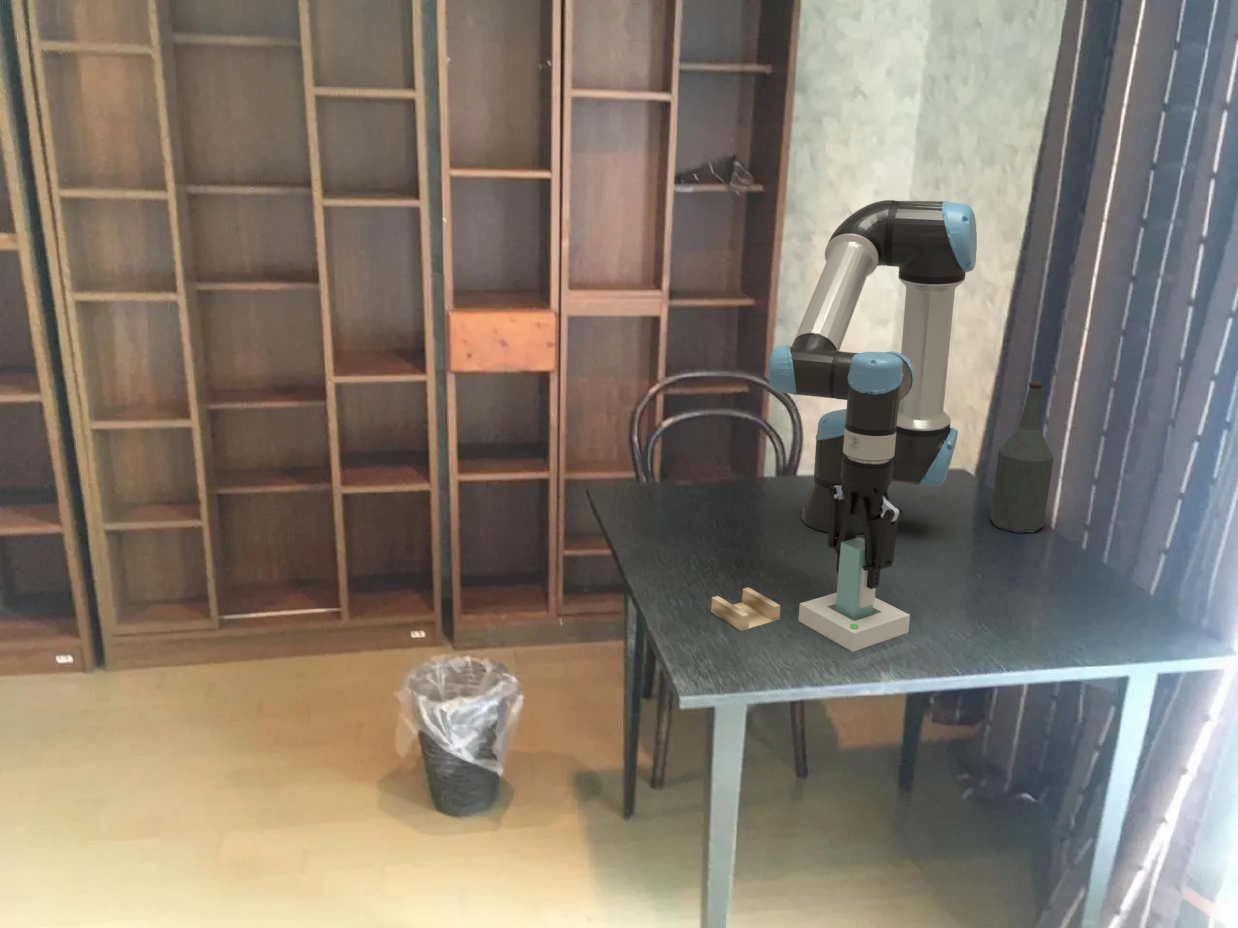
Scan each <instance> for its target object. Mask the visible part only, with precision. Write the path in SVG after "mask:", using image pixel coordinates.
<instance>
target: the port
mask: <svg viewBox="0 0 1238 928" xmlns="http://www.w3.org/2000/svg"><path fill="white" fill-rule="evenodd" d="M836 597H837V592H834V593H831V594H827V595H824V596H821V597H817V598H813V599H810V600H807V601H803V602H800V603H799V604H798V605H799V608H798V609H799V610H798V622H799V623H801V624H803V625H805V626H806V627H808V628H810V629H811V630H814V631H815V632H817V633H819V634H821V635H822V636H824V637H826V638H827V639H830V640H831V641H833V643H836V644H838V645H840V646H841V647H843V648H845V649H846V650H849V651H850V652H851V653H853V652H856V651H859V650H863V649H864V648H868V647H871V646H874V645H877V644H879V643H882V642H885V641H888V640H891V639H894V638H897V637H899V636H903V635H905V634H906V635H907V634H908V633H909V631H910V630H909V628H910V622H911V621H910V619H911V614H909V613H907V612H905V611H903V610H901V609H899V608H897V607H895V606H893V605H891V604H889V603H887V602H885V601H883V600H882V599H881V600H880V599H879V598H877V597H875V601H874V604H873V611H872V616H868V617H865V618H862V619H859V620H856V621H853V620H851V619H849V618H848V617H846V616H844V615H842V614H840V613H838V612H836V611H835V609H836Z"/></svg>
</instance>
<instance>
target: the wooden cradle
mask: <svg viewBox="0 0 1238 928" xmlns="http://www.w3.org/2000/svg"><path fill="white" fill-rule="evenodd" d="M741 595H742V597H741V602H738V603H734V604H733V603H730V602H729V601H727V600H726V599H724V598H723V597H720V596H719V595H716V596H712V597H711V610H710V612H711V613H712V614H713V615H715V616H716V617H719V619H722V620H723V621H725V622H726V623H728V624H729V625H731V626H733V628H734V627H735V628H736V629H738V630H739V631H741V632H743V631H746V630H749V629H753V628H755V627H759V626H762V625H766V624H768V623H772V622H775V621H778V620H781V617H780V616H781V605H780V604H779V603H777V602H775V601H773V600H772V599H770V598H768V597H766V596H765V595H763V594H761V593H759V592H757V591H756V590H754V589H752V588H751V587H744V588H742V594H741Z"/></svg>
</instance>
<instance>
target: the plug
mask: <svg viewBox="0 0 1238 928" xmlns="http://www.w3.org/2000/svg"><path fill="white" fill-rule="evenodd" d="M862 566H866V557H865V541H864V537H859V536H858V537H856V538H855V539H851V540H847V541H844V542H841V550H840V561H839V573H837V584H838V585H836V587H837V588H836V593H837V597H836V609H835V611H836V612H838V613H840V614H842V615H844V616H846V617H848V618H849V619H851V620H853V621H856V620H859V619H862V618H865V617H868V616H872V611H873V605H870V606H867V607H863V608H861V607H859V606H858V603H859V592H860V581H861V570H862Z"/></svg>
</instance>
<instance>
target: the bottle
mask: <svg viewBox="0 0 1238 928" xmlns="http://www.w3.org/2000/svg"><path fill="white" fill-rule="evenodd" d="M1028 386H1029V389H1028V392H1027V395H1026V399H1025V404H1024V407H1023V411H1022V415H1021V419H1020V425H1019V426H1018V428H1017V429H1016V430H1015V431H1014V432H1013V433H1012V434H1011V436H1010V437H1009V438H1008V439H1007V440H1006V441H1005V443H1004V444H1003V445H1002V446H1001V447H1000V448H999V450H998V455H997V463H996V469H995V476H994V477H995V478H994V485H993V493H992V494H993V495H992V501H991V507H990V508H991V509H990V515H989V517H990V519H991V521H992V523H993V525H995V526H996V528H997V527H998V528H997V529H999V528H1000V530H1002V529H1005V530H1004V531H1006V530H1009V531H1017V532H1028V531H1036V532H1038V531H1039V530H1038V529H1040V528H1041V527H1042V528H1043V527H1044V525H1045V518H1046V512H1047V504H1048V498H1049V492H1050V483H1051V478H1052V477H1051V476H1052V472H1053V464H1054V455H1053V453H1052V451H1051V449H1050V447H1049V445H1048V443H1047V441H1046V439H1045V438H1044V435H1043V433H1042V431H1041V405H1042V404H1041V400H1042V398H1041V397H1042V396H1041V395H1042V387H1043V383H1042V382H1040V381H1030V382H1028ZM995 526H994V527H995ZM1001 528H1002V529H1001ZM1042 528H1041V529H1042ZM1041 529H1040V530H1041ZM1037 530H1038V531H1037ZM1009 531H1008V532H1009Z"/></svg>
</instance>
